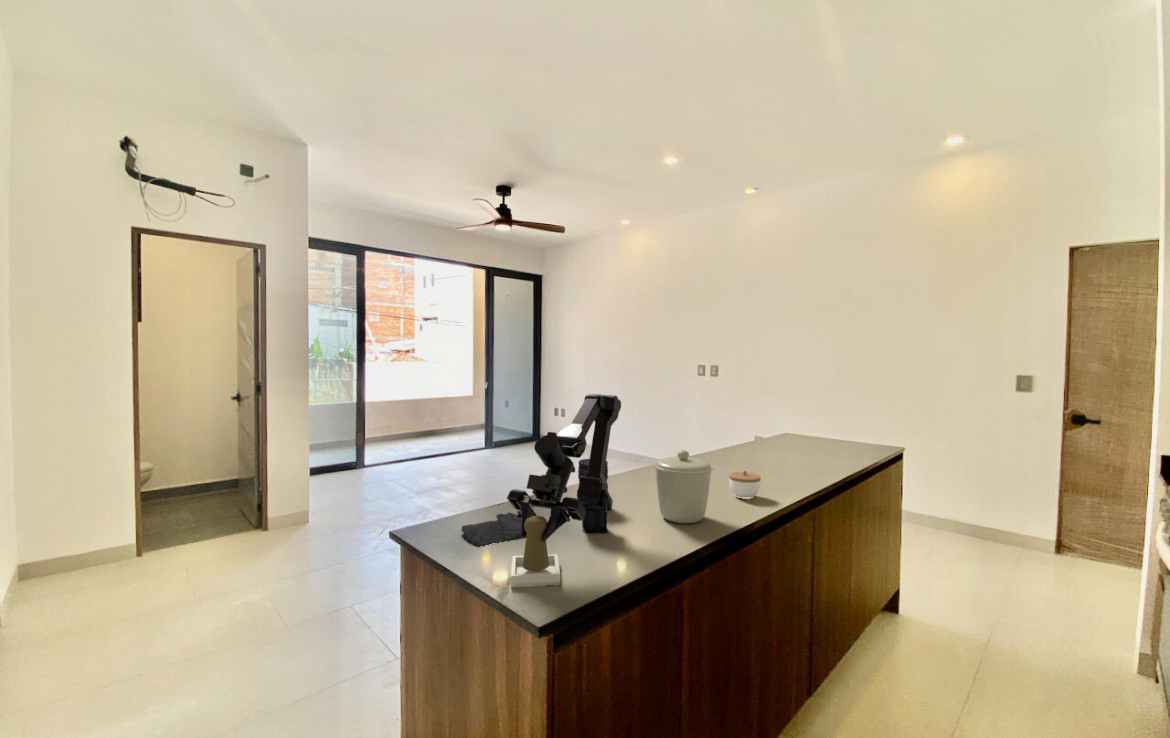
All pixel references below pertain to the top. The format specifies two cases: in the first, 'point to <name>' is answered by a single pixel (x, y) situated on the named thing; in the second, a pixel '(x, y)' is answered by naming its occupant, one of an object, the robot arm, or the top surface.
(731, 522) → the top surface
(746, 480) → the lidded jar
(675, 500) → the canister
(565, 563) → the top surface
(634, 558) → the top surface
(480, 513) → the top surface
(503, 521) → the dark slate chunk
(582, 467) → the storage jar
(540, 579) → the tray
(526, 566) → the olive brown pawn
